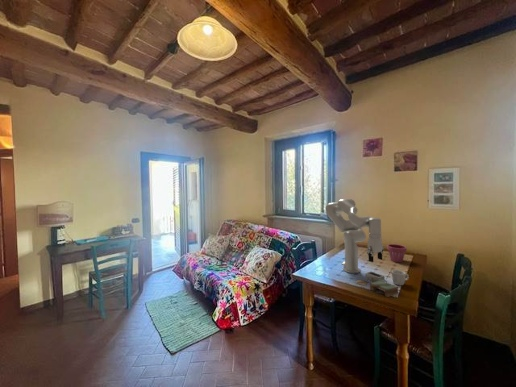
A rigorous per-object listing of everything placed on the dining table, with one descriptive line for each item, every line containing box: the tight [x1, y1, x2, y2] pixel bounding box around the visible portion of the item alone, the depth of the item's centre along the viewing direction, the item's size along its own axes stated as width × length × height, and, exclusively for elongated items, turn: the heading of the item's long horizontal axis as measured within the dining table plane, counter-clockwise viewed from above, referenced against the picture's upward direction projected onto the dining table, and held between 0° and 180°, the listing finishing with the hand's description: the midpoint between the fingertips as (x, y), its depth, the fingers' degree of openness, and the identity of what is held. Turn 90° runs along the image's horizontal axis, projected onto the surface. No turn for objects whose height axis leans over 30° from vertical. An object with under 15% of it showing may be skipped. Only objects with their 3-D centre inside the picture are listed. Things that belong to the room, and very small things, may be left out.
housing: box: [365, 271, 386, 283], centre depth 156 cm, size 10×6×5 cm, turn 28°
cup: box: [391, 269, 409, 286], centre depth 152 cm, size 11×8×8 cm
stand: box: [369, 280, 399, 298], centre depth 142 cm, size 12×10×4 cm
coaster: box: [355, 279, 368, 286], centre depth 154 cm, size 7×7×1 cm
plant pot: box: [386, 243, 407, 263], centre depth 197 cm, size 14×14×13 cm
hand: (375, 260), depth 156 cm, fingers open, 9 cm apart
